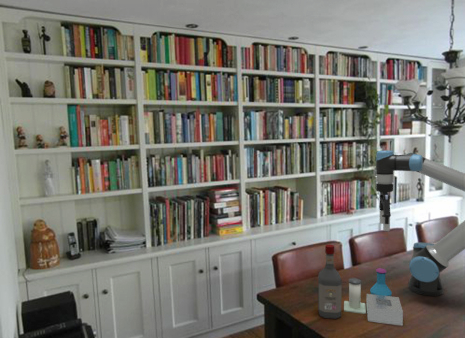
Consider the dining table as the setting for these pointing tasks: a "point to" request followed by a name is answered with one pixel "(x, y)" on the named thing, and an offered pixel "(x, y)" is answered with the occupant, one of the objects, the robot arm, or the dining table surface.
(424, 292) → the robot arm
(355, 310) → the mat
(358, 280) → the salt shaker
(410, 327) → the dining table surface
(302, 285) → the dining table surface
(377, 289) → the perfume bottle
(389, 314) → the housing
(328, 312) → the liquor
